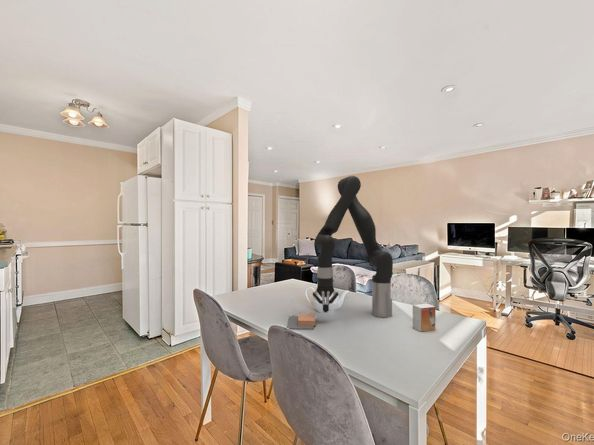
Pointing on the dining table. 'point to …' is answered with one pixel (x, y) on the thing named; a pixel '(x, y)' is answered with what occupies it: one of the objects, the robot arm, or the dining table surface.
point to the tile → (306, 319)
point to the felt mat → (296, 323)
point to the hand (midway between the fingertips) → (325, 312)
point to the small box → (424, 317)
